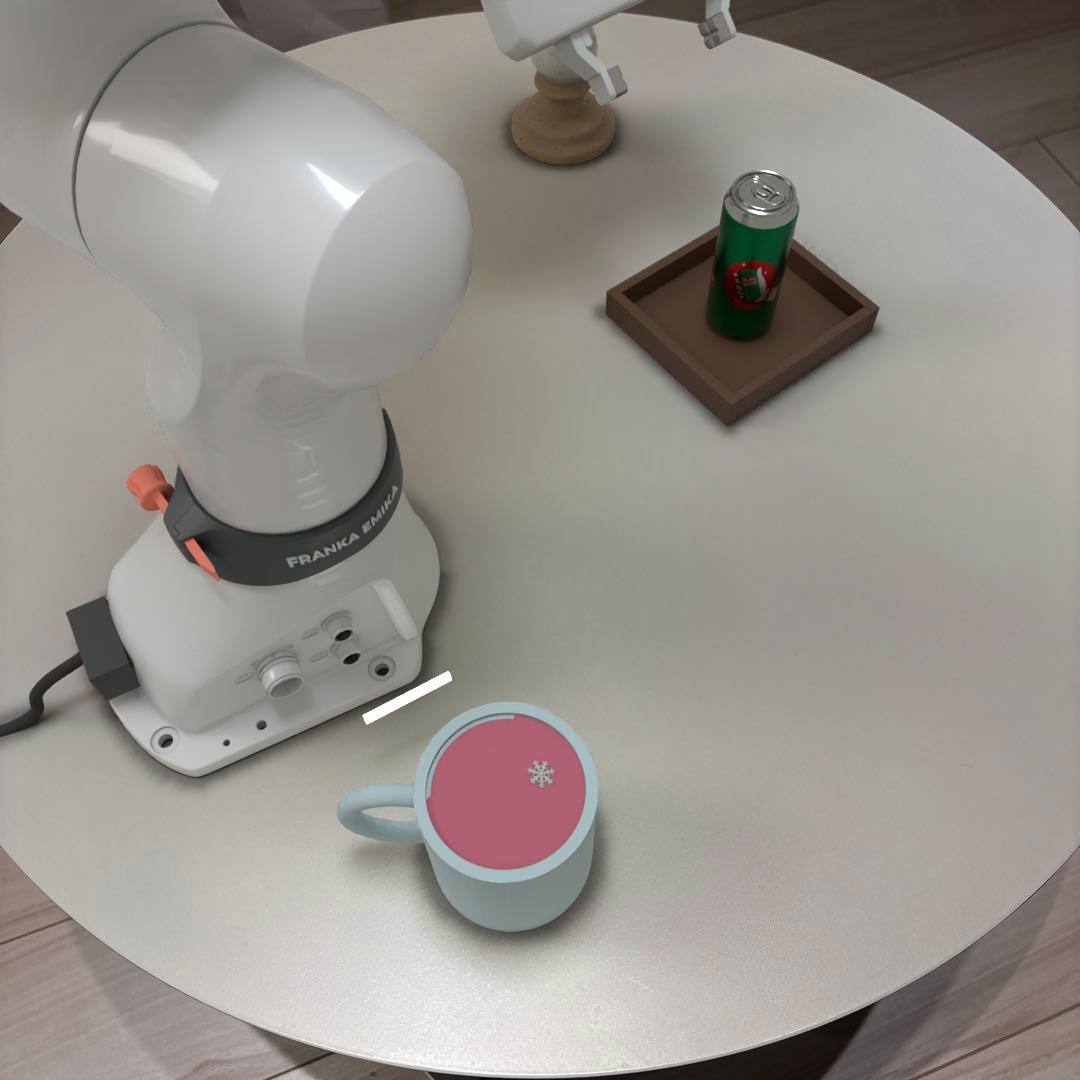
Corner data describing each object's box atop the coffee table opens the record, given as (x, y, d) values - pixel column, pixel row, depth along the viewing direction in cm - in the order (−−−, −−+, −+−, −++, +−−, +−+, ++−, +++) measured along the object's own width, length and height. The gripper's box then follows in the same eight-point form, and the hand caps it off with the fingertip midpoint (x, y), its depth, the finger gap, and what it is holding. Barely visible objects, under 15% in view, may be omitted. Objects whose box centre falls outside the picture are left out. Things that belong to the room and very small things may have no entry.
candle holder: (509, 165, 95) (498, -74, 78) (514, 97, 100) (505, -144, 82) (614, 167, 95) (627, -73, 77) (615, 98, 99) (627, -143, 82)
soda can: (730, 282, 87) (754, 154, 77) (786, 314, 85) (817, 188, 75) (691, 320, 85) (709, 194, 75) (746, 353, 83) (773, 229, 73)
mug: (593, 772, 67) (599, 704, 59) (591, 934, 62) (596, 886, 54) (362, 765, 68) (334, 696, 59) (342, 925, 63) (309, 876, 54)
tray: (727, 426, 80) (731, 405, 78) (605, 313, 86) (606, 290, 84) (872, 329, 85) (880, 307, 83) (747, 228, 91) (751, 205, 89)
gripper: (462, -109, 65) (567, 124, 69) (729, -221, 71) (810, -2, 75) (425, -68, 71) (524, 146, 75) (675, -175, 77) (753, 27, 81)
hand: (669, 71), depth 75 cm, fingers open, 8 cm apart
